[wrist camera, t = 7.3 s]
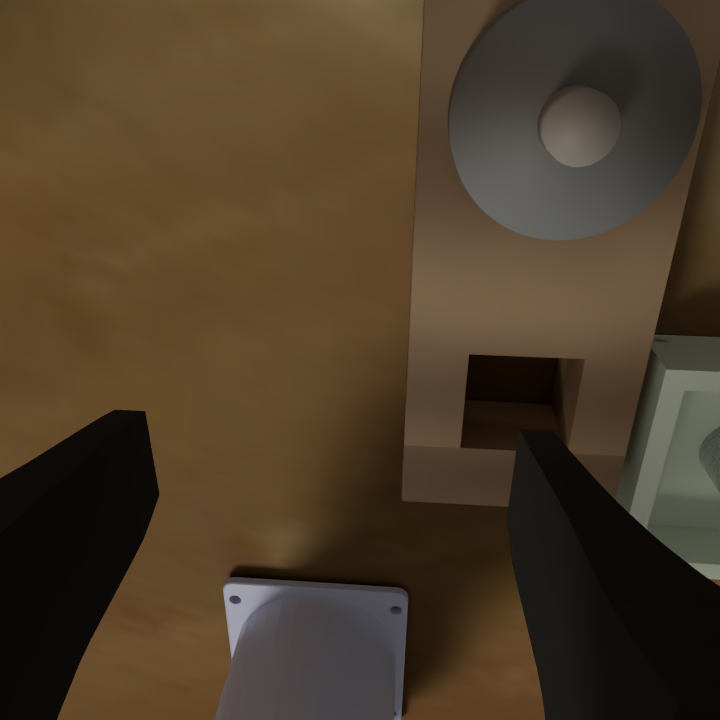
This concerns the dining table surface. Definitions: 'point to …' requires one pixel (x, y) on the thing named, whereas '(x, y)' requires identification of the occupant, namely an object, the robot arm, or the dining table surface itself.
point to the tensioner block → (545, 222)
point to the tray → (676, 450)
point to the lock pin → (711, 457)
